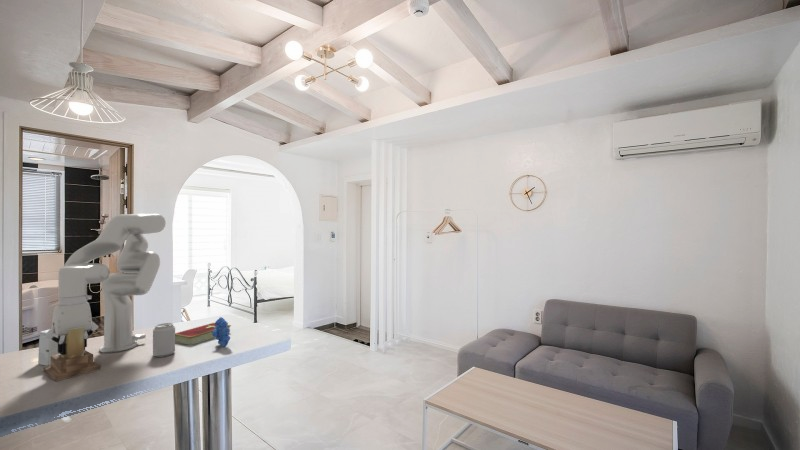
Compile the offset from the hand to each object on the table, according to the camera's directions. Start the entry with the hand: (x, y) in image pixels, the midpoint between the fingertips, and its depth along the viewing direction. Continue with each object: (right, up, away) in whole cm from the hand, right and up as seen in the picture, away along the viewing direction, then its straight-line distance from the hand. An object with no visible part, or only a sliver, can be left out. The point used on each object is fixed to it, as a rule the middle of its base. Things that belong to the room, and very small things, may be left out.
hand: (72, 351), depth 129 cm
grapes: (+39, -7, +27) cm, 48 cm away
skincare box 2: (0, -4, 0) cm, 4 cm away
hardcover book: (+25, -8, +40) cm, 48 cm away
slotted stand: (0, -7, 0) cm, 7 cm away
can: (+22, -7, +17) cm, 28 cm away
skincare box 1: (-14, -7, +7) cm, 18 cm away
